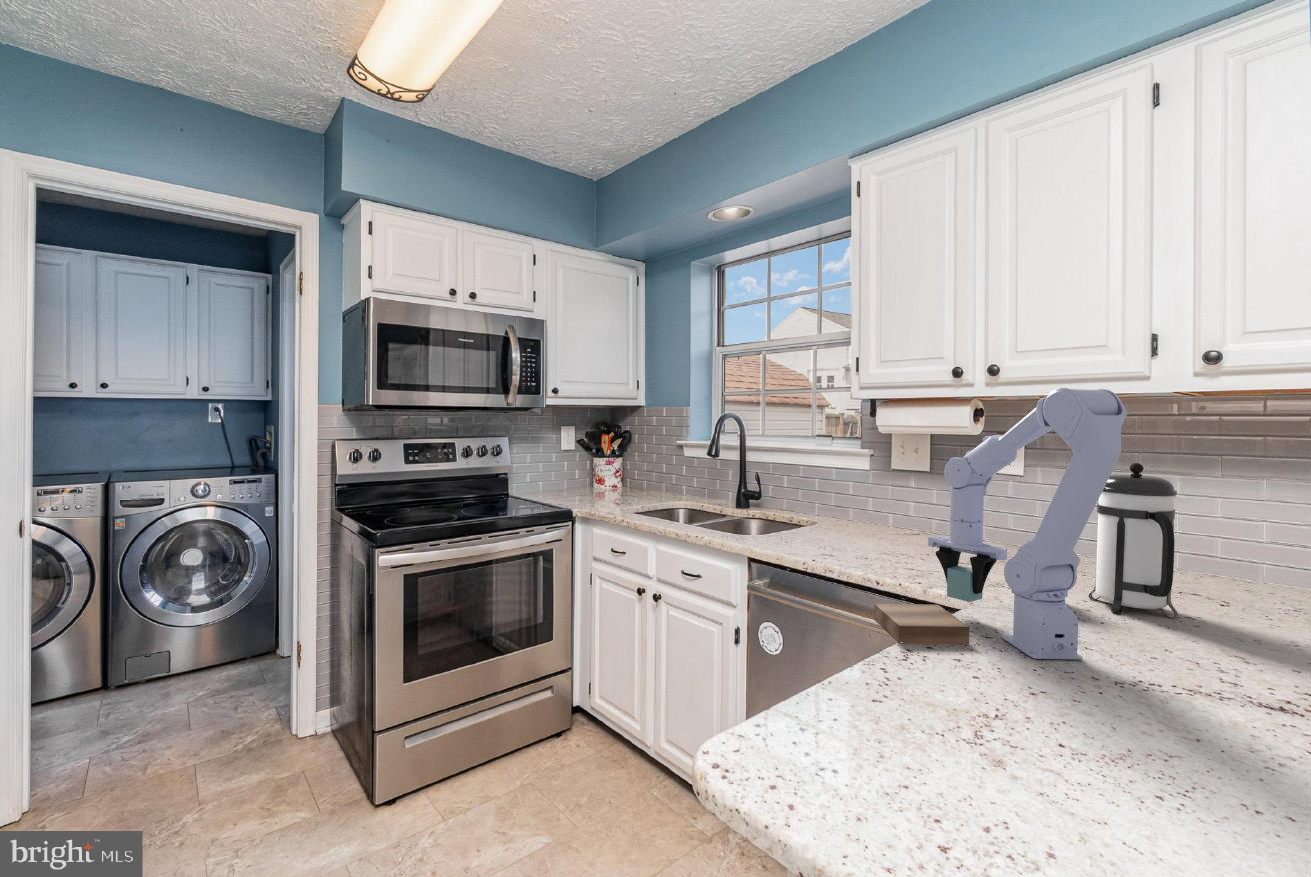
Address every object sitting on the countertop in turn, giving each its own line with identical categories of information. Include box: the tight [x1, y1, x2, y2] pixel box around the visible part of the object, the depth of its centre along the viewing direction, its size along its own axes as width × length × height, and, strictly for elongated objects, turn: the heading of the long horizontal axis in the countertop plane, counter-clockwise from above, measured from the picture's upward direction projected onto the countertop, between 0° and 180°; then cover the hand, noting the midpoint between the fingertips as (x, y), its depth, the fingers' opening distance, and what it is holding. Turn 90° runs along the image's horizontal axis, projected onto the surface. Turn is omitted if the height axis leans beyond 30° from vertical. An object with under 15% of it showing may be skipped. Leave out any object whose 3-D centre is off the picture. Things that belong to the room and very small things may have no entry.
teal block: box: [946, 565, 984, 603], centre depth 116 cm, size 4×4×6 cm
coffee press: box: [1088, 462, 1179, 619], centre depth 122 cm, size 17×16×30 cm
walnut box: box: [873, 603, 970, 645], centre depth 109 cm, size 12×12×4 cm
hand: (964, 589), depth 116 cm, fingers closed on teal block, 4 cm apart
